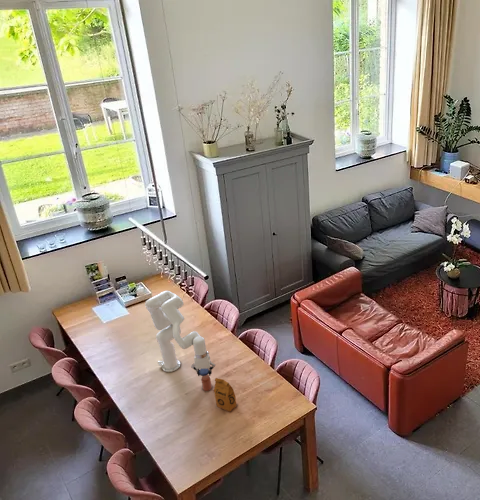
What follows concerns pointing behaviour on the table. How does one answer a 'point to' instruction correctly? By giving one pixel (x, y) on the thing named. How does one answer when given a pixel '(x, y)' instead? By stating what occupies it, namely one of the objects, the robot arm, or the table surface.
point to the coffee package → (224, 395)
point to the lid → (203, 372)
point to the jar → (206, 383)
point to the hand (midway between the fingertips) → (204, 374)
